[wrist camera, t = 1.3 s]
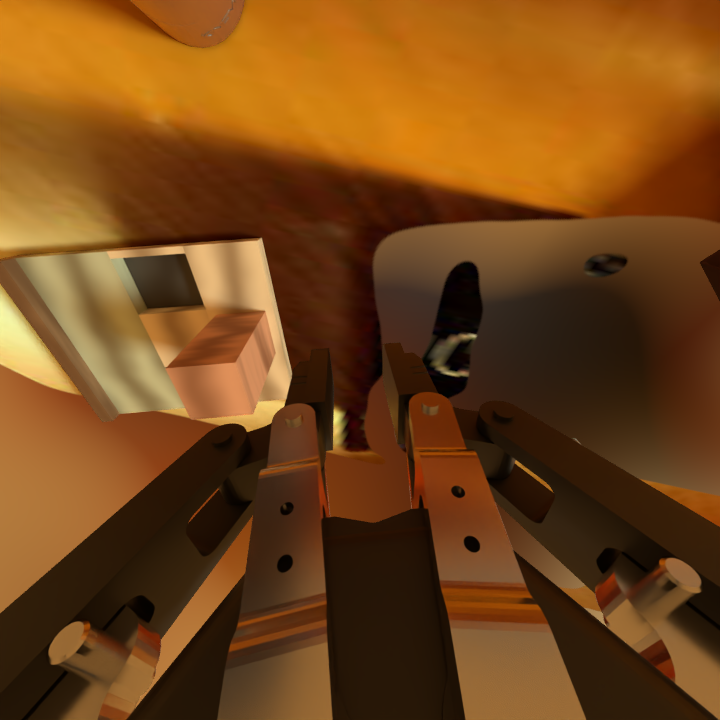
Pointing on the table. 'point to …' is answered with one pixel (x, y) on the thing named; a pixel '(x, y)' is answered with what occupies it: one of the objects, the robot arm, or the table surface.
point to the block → (224, 366)
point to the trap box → (141, 314)
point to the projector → (713, 271)
